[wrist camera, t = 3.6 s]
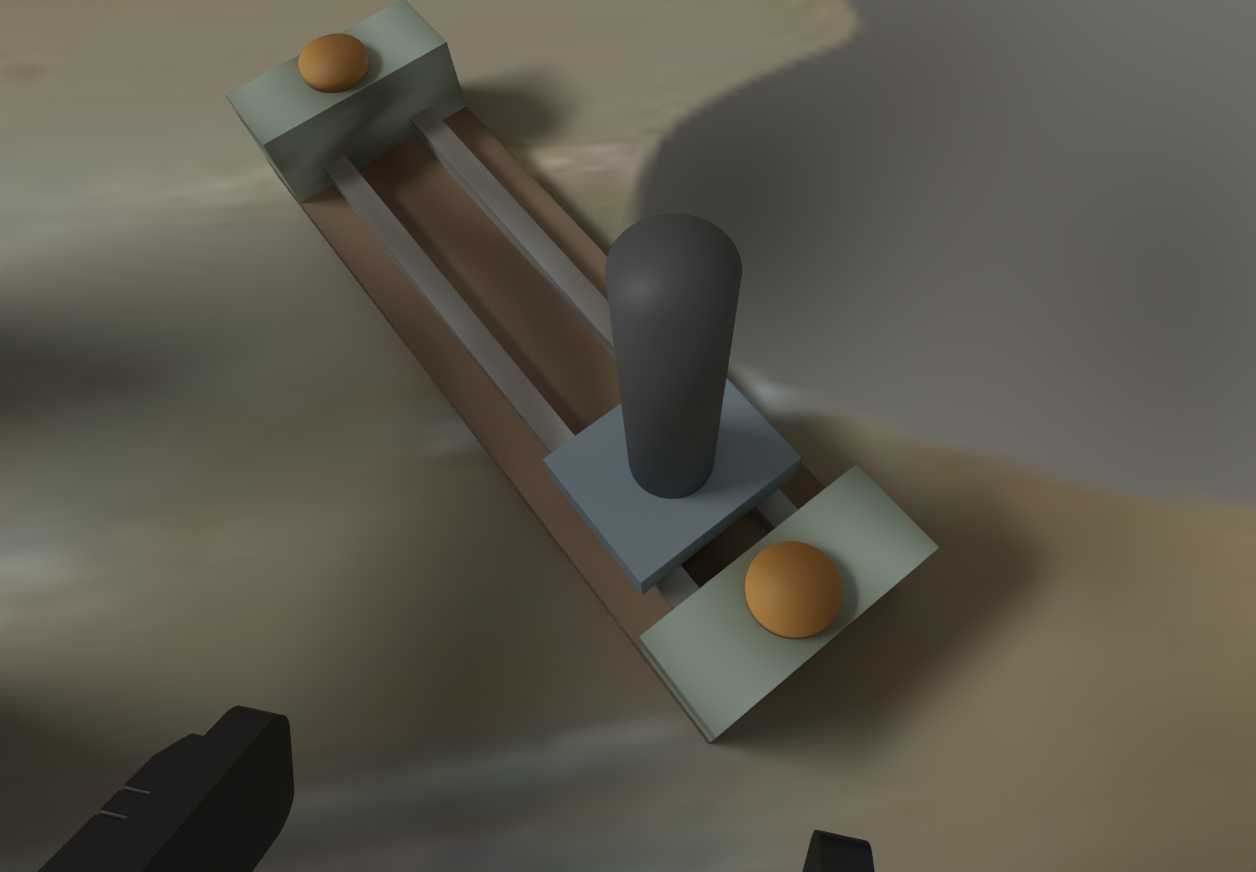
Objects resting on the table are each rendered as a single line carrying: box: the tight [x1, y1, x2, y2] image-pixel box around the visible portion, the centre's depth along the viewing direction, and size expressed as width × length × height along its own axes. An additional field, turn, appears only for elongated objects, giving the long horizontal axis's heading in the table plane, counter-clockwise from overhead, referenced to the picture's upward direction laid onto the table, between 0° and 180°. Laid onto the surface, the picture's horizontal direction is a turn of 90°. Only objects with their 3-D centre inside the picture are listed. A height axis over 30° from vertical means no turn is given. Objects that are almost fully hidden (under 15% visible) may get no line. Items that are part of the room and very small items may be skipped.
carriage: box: [543, 214, 802, 595], centre depth 25 cm, size 8×6×14 cm
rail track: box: [225, 0, 939, 744], centre depth 34 cm, size 10×36×6 cm, turn 38°
